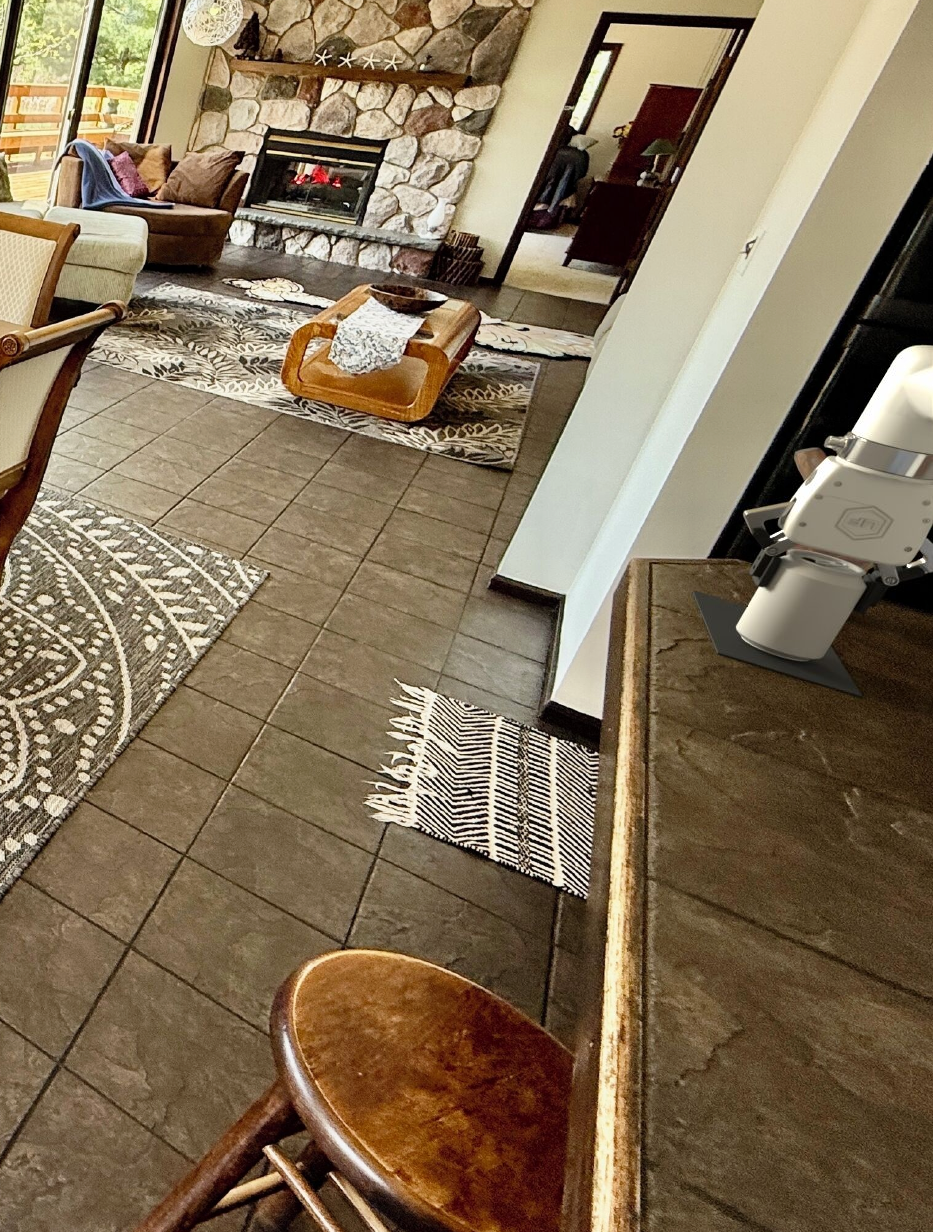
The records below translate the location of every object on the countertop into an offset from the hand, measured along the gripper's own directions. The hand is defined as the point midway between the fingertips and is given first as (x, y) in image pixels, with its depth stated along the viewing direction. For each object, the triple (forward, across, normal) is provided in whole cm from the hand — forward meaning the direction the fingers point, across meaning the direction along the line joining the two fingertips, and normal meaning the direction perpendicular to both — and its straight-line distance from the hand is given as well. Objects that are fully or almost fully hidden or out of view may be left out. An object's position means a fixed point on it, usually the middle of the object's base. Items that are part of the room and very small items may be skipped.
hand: (806, 594), depth 108 cm
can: (+7, 0, 0) cm, 7 cm away
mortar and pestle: (+8, +5, +22) cm, 24 cm away
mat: (+8, 0, +3) cm, 8 cm away
